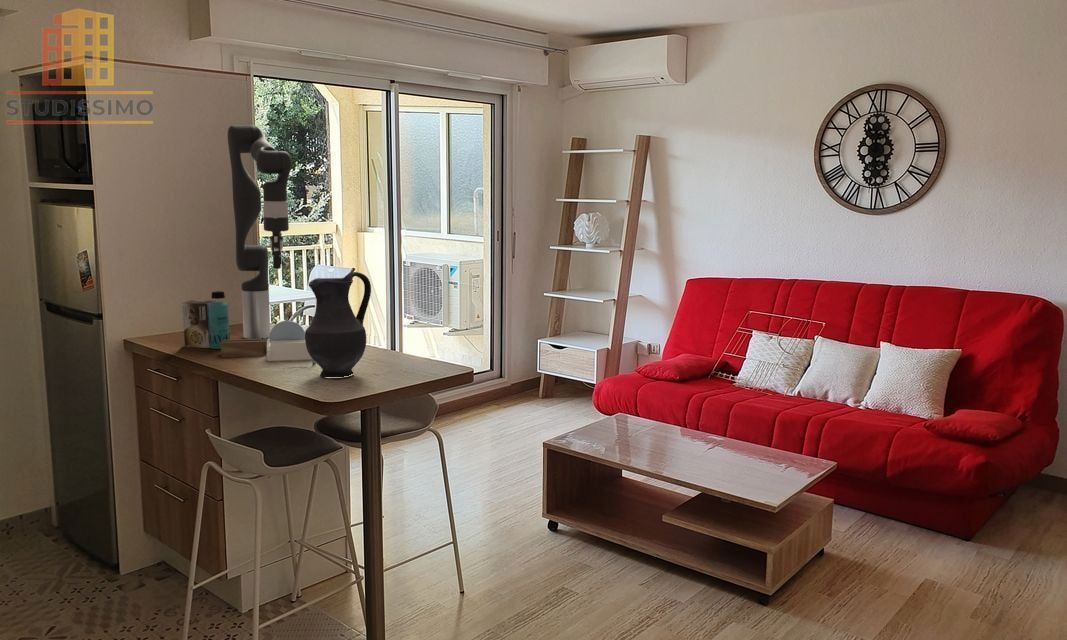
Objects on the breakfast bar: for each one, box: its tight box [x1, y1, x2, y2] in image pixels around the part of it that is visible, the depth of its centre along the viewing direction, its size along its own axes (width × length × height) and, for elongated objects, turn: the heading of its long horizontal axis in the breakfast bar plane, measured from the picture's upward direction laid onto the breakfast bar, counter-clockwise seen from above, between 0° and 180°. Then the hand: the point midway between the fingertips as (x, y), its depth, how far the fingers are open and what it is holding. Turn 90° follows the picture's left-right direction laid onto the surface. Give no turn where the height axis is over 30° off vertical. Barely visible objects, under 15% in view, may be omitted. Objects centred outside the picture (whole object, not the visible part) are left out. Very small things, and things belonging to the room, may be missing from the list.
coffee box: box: [181, 299, 215, 349], centre depth 278 cm, size 9×6×16 cm
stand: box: [220, 338, 268, 358], centre depth 266 cm, size 6×14×6 cm, turn 104°
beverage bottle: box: [208, 290, 231, 350], centre depth 275 cm, size 6×7×20 cm
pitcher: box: [304, 271, 372, 378], centre depth 244 cm, size 17×21×30 cm
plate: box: [268, 320, 305, 343], centre depth 264 cm, size 2×11×11 cm, turn 104°
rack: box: [266, 340, 317, 364], centre depth 265 cm, size 13×15×6 cm
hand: (277, 266), depth 265 cm, fingers open, 8 cm apart
